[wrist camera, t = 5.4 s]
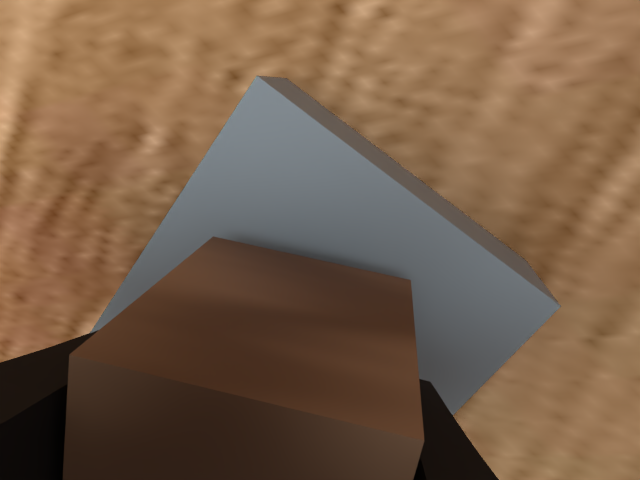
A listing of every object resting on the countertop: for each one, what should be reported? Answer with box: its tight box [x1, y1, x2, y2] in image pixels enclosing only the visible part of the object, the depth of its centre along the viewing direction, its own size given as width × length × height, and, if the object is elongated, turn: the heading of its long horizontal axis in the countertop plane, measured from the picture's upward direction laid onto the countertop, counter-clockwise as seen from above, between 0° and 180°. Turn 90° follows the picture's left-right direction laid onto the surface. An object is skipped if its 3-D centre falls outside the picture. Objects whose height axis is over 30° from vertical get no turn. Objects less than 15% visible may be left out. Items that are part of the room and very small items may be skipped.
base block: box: [90, 76, 561, 415], centre depth 14 cm, size 8×8×4 cm
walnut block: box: [63, 236, 424, 480], centre depth 9 cm, size 4×4×5 cm
